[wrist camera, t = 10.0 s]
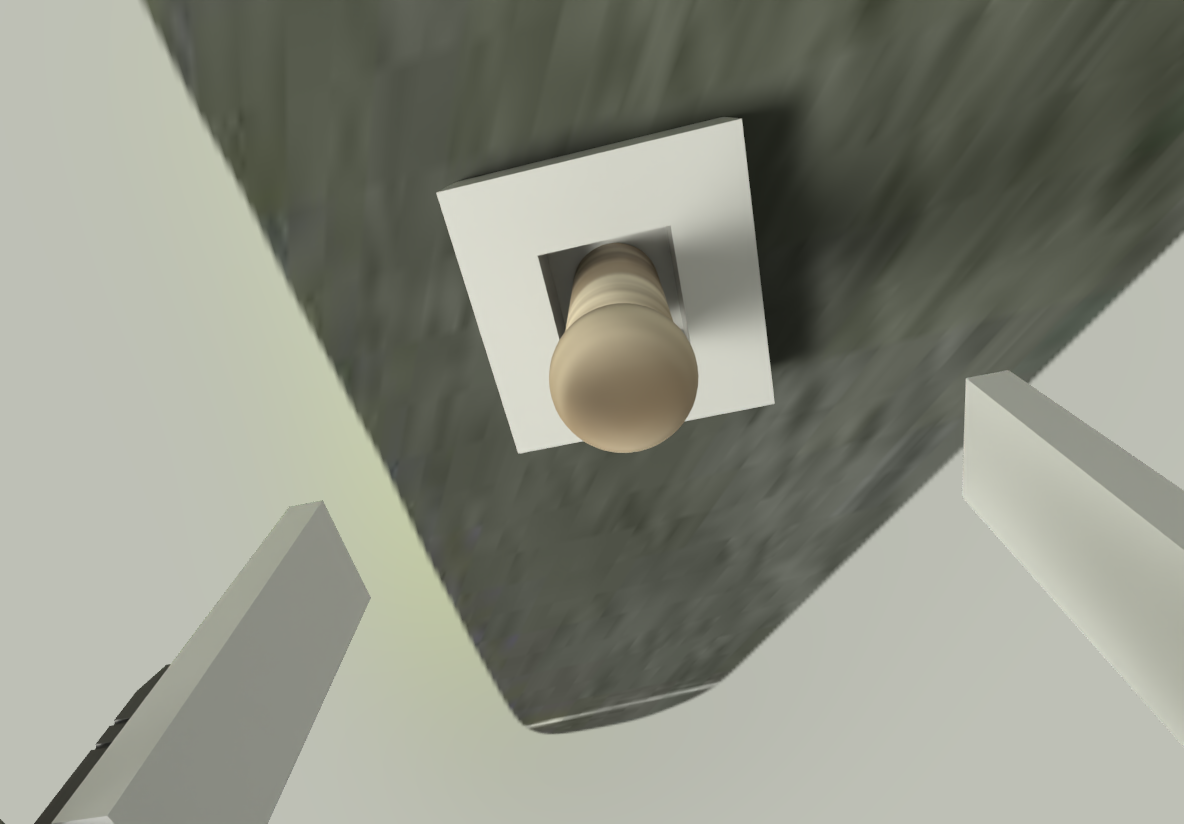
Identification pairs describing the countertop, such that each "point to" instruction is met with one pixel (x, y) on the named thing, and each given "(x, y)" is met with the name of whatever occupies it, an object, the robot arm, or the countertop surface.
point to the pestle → (621, 355)
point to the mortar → (616, 215)
